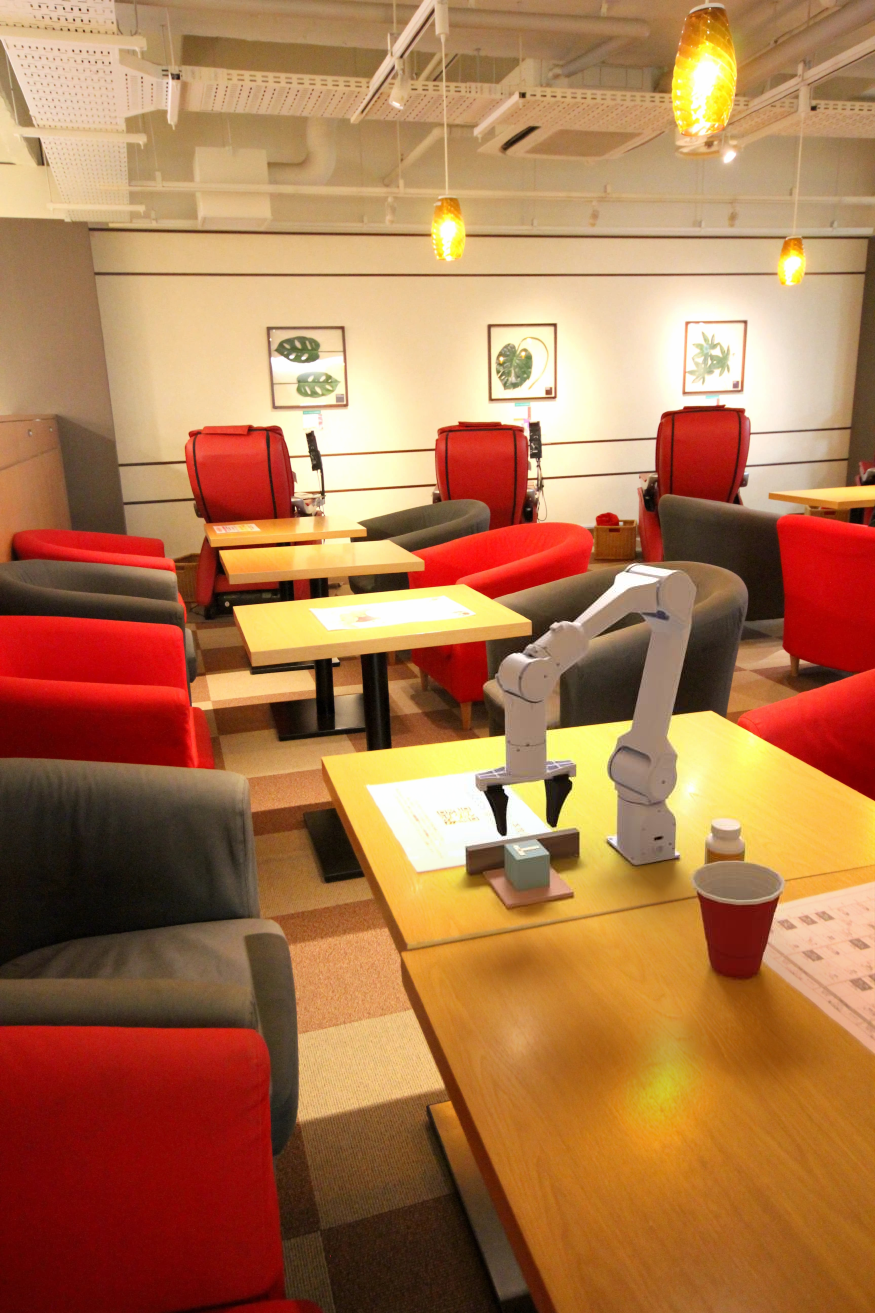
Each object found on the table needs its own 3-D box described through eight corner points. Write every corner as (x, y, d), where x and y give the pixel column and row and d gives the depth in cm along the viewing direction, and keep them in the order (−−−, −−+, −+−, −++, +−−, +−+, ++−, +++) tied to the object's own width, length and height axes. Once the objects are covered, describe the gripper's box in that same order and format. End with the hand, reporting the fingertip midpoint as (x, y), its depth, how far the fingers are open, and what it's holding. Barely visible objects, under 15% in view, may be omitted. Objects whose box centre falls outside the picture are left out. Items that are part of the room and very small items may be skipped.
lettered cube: (549, 885, 130) (549, 853, 129) (517, 891, 129) (516, 859, 128) (536, 870, 135) (536, 838, 134) (504, 875, 134) (504, 844, 132)
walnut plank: (579, 855, 140) (579, 831, 139) (469, 875, 135) (468, 850, 134) (575, 851, 142) (575, 827, 141) (466, 870, 137) (465, 846, 136)
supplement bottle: (748, 895, 127) (751, 832, 125) (709, 896, 127) (712, 833, 125) (736, 876, 132) (739, 815, 130) (699, 877, 132) (701, 816, 130)
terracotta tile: (573, 895, 129) (573, 891, 129) (507, 908, 126) (507, 904, 126) (545, 864, 138) (545, 860, 138) (483, 875, 135) (483, 871, 135)
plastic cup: (708, 931, 119) (712, 848, 116) (792, 960, 112) (798, 872, 109) (671, 971, 111) (674, 882, 108) (759, 1004, 104) (765, 910, 101)
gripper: (561, 724, 132) (561, 810, 135) (467, 737, 128) (469, 825, 131) (583, 739, 125) (582, 829, 129) (484, 753, 121) (486, 846, 125)
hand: (526, 829), depth 130 cm, fingers open, 7 cm apart
